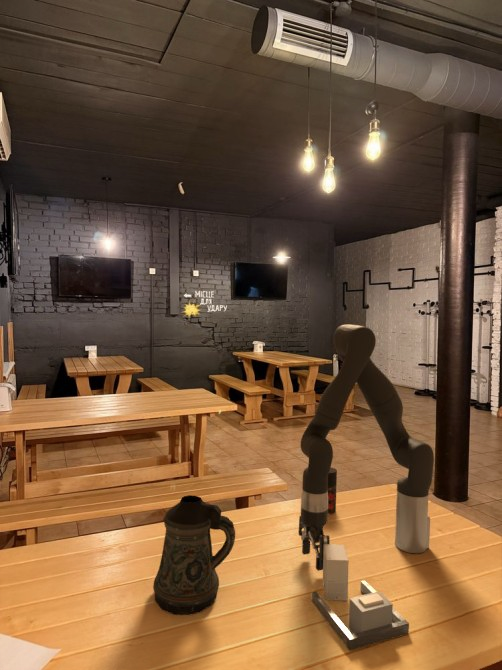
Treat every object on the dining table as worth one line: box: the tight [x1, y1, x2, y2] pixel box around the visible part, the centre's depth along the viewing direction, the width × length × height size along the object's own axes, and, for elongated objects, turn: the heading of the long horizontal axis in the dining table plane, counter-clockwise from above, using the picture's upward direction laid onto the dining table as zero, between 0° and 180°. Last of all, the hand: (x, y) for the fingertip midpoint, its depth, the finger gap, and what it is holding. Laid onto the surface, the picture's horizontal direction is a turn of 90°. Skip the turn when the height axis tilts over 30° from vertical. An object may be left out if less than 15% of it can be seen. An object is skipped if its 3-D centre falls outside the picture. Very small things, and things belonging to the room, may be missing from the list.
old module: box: [348, 590, 394, 634], centre depth 104 cm, size 8×5×8 cm, turn 110°
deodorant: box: [328, 466, 338, 515], centre depth 165 cm, size 6×6×15 cm
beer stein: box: [152, 495, 236, 616], centre depth 116 cm, size 16×19×25 cm
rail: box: [311, 580, 410, 652], centre depth 108 cm, size 15×17×2 cm
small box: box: [322, 543, 349, 602], centre depth 118 cm, size 8×6×10 cm
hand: (312, 561), depth 129 cm, fingers open, 8 cm apart
